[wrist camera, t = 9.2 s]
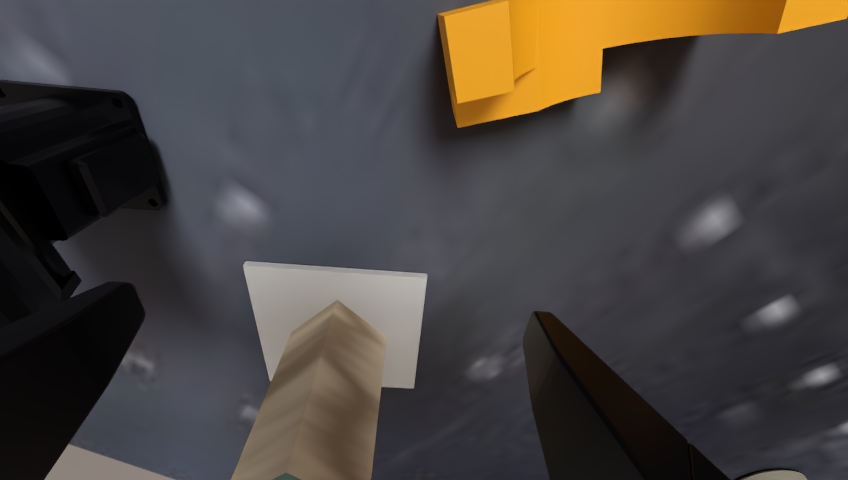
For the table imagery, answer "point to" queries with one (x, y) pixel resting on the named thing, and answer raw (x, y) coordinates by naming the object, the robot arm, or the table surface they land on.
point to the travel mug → (775, 475)
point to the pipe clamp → (583, 43)
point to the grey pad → (355, 288)
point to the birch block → (320, 403)
